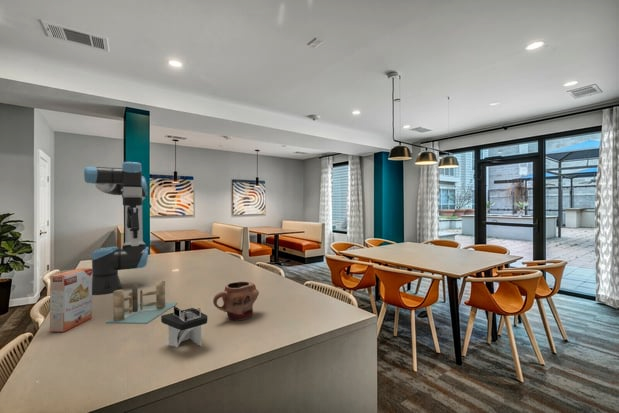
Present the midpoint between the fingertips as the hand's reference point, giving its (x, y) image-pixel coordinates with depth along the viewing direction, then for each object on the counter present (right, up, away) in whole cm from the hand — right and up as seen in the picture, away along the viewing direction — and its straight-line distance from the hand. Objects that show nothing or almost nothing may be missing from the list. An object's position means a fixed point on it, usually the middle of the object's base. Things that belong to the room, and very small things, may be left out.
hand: (132, 243), depth 136 cm
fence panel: (+10, -28, -3) cm, 30 cm away
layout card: (+8, -29, -5) cm, 31 cm away
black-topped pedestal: (+39, -30, -37) cm, 61 cm away
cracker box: (-13, -30, -19) cm, 37 cm away
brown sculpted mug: (+50, -29, -12) cm, 59 cm away
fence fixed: (+3, -29, -10) cm, 31 cm away
